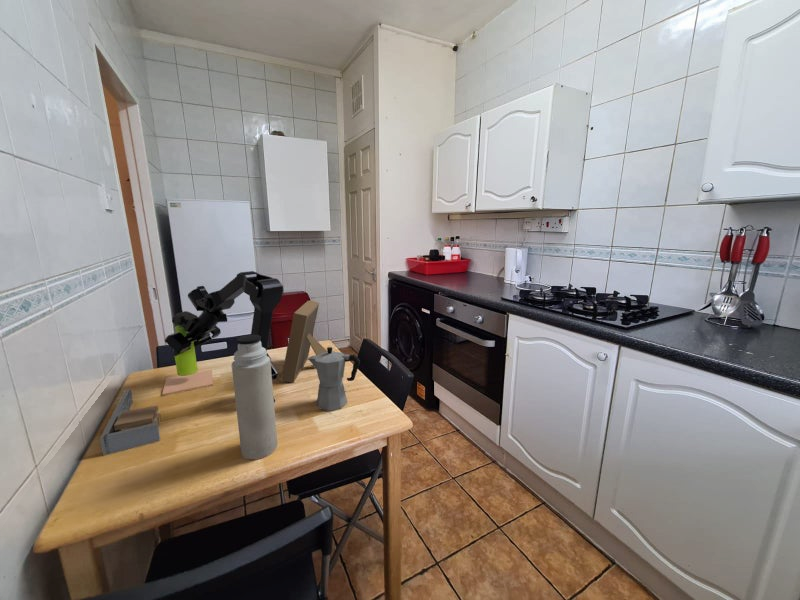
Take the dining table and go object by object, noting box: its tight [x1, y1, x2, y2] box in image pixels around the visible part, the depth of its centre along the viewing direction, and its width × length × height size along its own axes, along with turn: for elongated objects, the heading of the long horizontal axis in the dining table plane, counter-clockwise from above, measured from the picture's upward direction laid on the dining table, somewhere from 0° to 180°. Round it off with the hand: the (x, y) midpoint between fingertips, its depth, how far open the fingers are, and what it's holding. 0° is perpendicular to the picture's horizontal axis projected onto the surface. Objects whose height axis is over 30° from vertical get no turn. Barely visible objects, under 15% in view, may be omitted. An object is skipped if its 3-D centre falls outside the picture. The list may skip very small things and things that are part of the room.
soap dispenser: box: [172, 325, 199, 376], centre depth 109 cm, size 6×7×20 cm
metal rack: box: [99, 388, 161, 456], centre depth 88 cm, size 28×11×4 cm, turn 31°
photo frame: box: [280, 300, 328, 384], centre depth 120 cm, size 15×22×25 cm
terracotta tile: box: [161, 369, 214, 397], centre depth 112 cm, size 14×14×1 cm
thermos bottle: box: [231, 334, 278, 460], centre depth 74 cm, size 8×8×28 cm
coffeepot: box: [307, 346, 361, 412], centre depth 96 cm, size 15×9×18 cm, turn 90°
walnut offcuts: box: [114, 405, 162, 431], centre depth 85 cm, size 8×8×4 cm
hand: (181, 351), depth 110 cm, fingers closed on soap dispenser, 6 cm apart
